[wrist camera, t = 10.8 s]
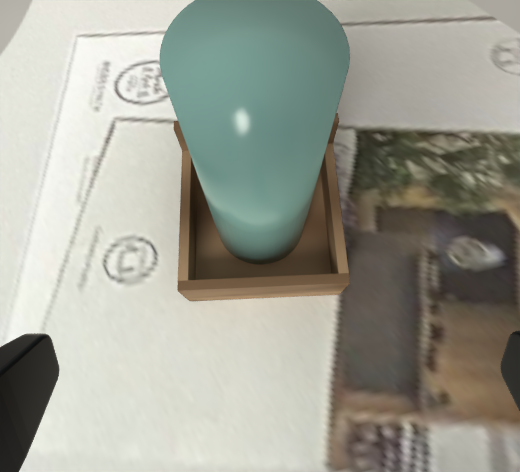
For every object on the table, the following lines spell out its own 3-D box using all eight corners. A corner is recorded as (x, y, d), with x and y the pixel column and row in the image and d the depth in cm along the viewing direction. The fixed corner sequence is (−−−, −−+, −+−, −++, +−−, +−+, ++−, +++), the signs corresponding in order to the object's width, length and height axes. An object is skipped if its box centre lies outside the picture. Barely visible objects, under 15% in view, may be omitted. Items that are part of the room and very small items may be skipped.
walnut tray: (339, 294, 21) (359, 273, 16) (189, 301, 21) (167, 281, 17) (324, 163, 24) (337, 113, 19) (192, 169, 24) (174, 121, 19)
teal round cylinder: (306, 262, 21) (361, 127, 9) (217, 266, 21) (154, 136, 9) (300, 182, 22) (338, -21, 11) (217, 185, 22) (163, -14, 11)
